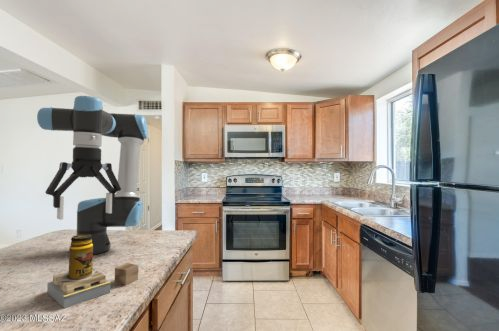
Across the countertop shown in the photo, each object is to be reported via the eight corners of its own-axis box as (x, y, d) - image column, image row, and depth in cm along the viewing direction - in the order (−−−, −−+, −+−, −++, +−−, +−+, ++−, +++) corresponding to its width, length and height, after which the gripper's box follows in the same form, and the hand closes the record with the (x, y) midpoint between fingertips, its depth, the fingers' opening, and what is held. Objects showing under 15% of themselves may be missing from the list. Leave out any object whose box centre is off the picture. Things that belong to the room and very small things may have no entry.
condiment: (88, 280, 76) (89, 238, 76) (55, 282, 74) (56, 239, 75) (97, 270, 83) (98, 232, 84) (67, 272, 82) (68, 233, 82)
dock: (47, 292, 79) (47, 282, 79) (90, 279, 88) (91, 270, 88) (64, 308, 70) (64, 296, 70) (110, 292, 80) (110, 282, 80)
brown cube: (114, 283, 86) (114, 267, 86) (127, 277, 91) (127, 262, 91) (125, 285, 84) (126, 270, 84) (137, 280, 89) (138, 265, 89)
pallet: (52, 282, 79) (52, 275, 79) (89, 272, 87) (89, 266, 87) (67, 294, 72) (67, 287, 72) (105, 282, 80) (105, 275, 80)
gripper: (41, 143, 70) (39, 223, 70) (132, 149, 89) (131, 212, 89) (33, 144, 74) (31, 219, 74) (121, 150, 94) (120, 209, 94)
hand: (85, 215), depth 82 cm, fingers open, 13 cm apart
